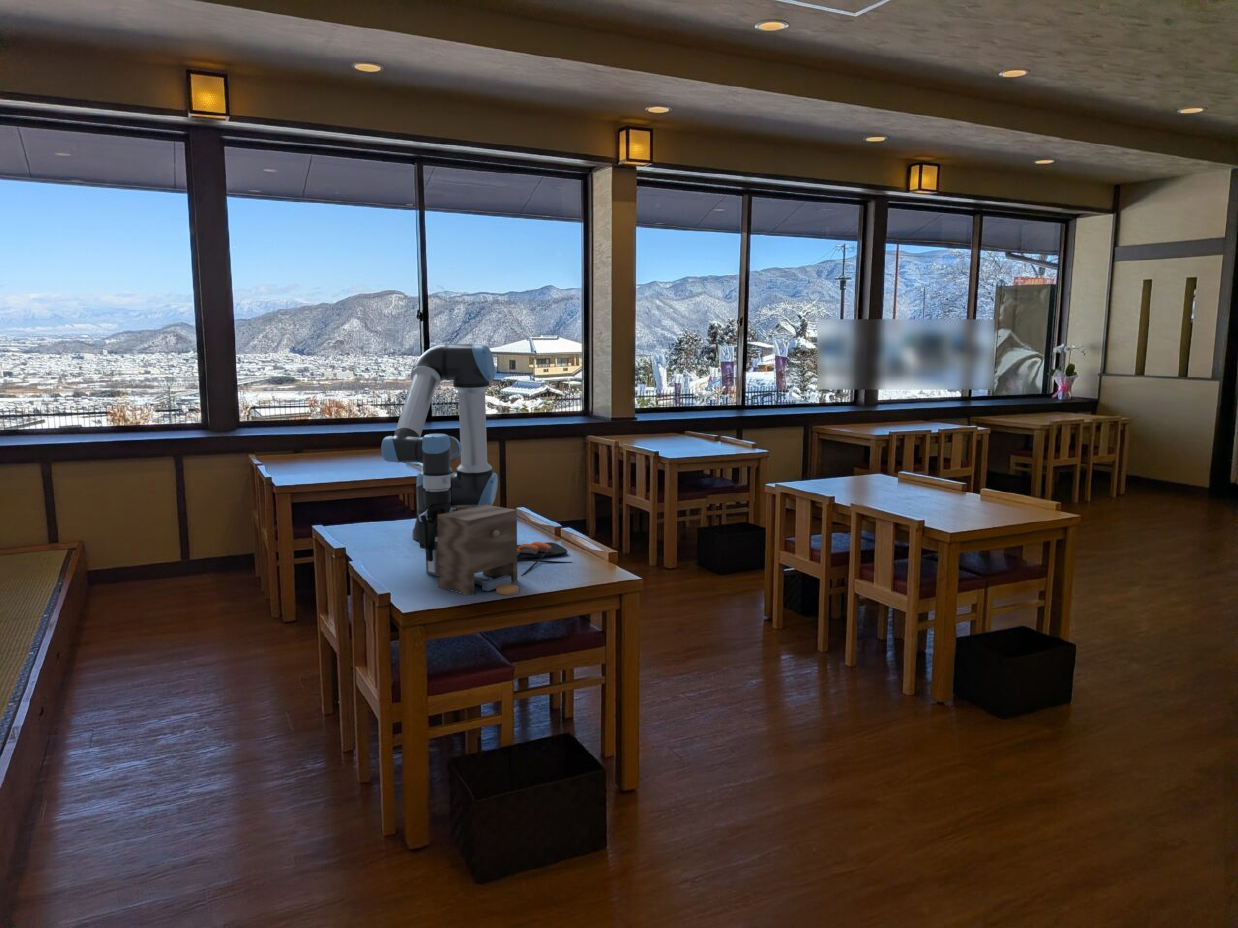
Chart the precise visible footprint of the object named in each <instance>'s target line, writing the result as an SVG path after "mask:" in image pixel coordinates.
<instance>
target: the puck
mask: <svg viewBox="0 0 1238 928" xmlns="http://www.w3.org/2000/svg"><path fill="white" fill-rule="evenodd" d="M519 591H520V587H519V586H518V585H516V584H508V585H500V586H498V587H496V589H495V593H496V594H497V595H501V594H502V596H503V595H504V596H510V595H509V594H512V595H516V594H518V593H519ZM517 592H518V593H517ZM515 593H516V594H515Z"/></svg>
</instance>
